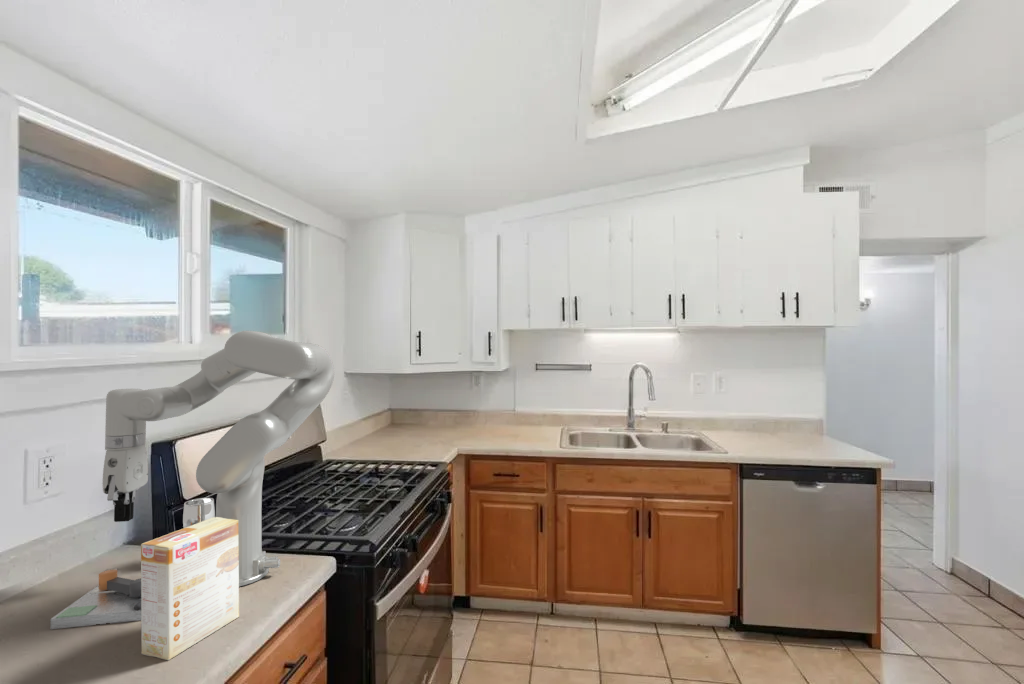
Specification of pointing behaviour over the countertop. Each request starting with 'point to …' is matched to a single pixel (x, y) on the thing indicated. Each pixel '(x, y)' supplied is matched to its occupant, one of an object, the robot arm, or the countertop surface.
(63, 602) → the countertop surface
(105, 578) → the breaker lever
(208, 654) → the countertop surface
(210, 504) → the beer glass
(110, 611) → the panel
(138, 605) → the cord bundle
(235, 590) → the coffeecake box
